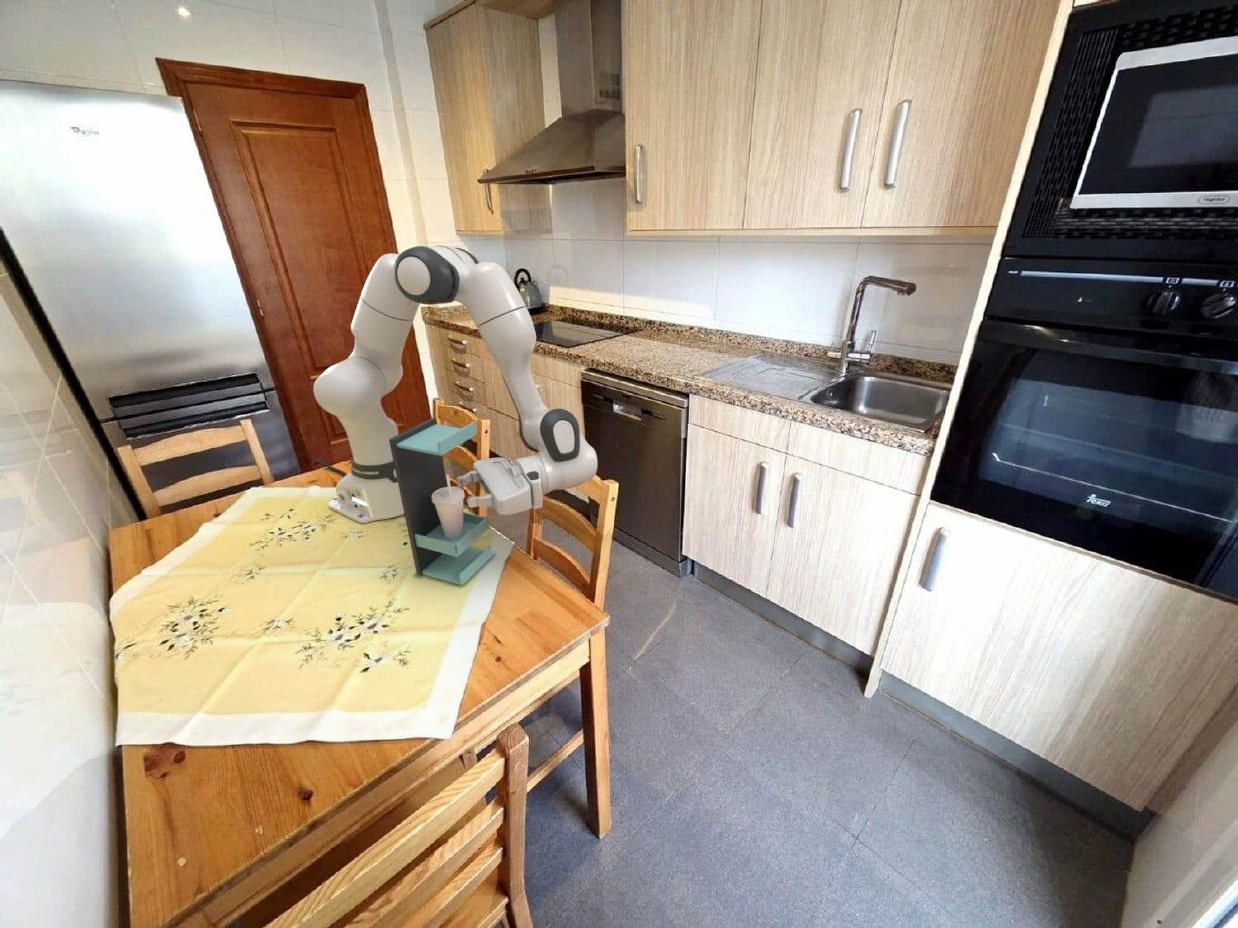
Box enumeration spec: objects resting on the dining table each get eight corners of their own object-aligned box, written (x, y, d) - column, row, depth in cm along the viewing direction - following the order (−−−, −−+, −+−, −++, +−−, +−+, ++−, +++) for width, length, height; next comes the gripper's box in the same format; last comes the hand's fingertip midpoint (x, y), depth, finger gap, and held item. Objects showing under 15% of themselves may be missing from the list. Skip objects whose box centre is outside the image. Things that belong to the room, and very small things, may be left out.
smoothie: (461, 544, 102) (451, 483, 96) (432, 540, 103) (421, 480, 97) (475, 527, 107) (467, 469, 101) (447, 523, 109) (438, 465, 102)
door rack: (416, 574, 105) (387, 434, 91) (452, 543, 116) (431, 413, 101) (460, 587, 102) (437, 443, 88) (493, 554, 112) (477, 420, 98)
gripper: (510, 446, 115) (449, 458, 109) (542, 484, 99) (472, 501, 93) (513, 471, 118) (453, 484, 112) (544, 511, 102) (476, 529, 96)
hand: (462, 492), depth 102 cm, fingers open, 8 cm apart
